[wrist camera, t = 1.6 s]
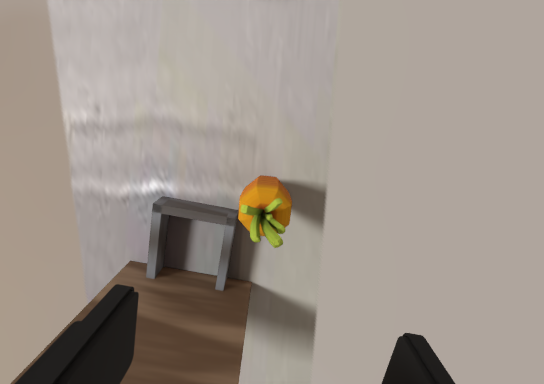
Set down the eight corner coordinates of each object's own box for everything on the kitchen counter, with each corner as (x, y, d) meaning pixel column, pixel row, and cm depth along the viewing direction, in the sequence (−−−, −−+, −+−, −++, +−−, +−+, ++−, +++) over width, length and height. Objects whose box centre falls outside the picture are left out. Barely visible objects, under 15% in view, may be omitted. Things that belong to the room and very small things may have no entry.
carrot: (241, 170, 35) (218, 209, 21) (281, 158, 35) (286, 190, 20) (253, 208, 36) (240, 270, 22) (292, 197, 36) (305, 253, 22)
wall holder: (249, 291, 39) (226, 462, 20) (129, 271, 39) (-14, 427, 19) (264, 215, 37) (254, 327, 17) (135, 191, 36) (-25, 281, 17)
